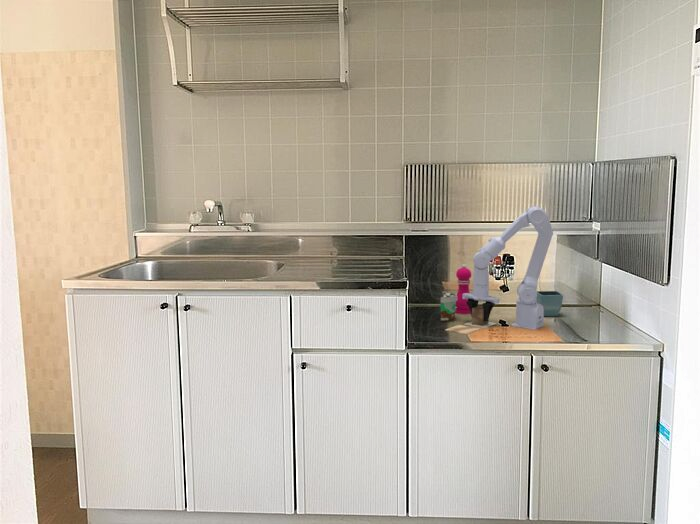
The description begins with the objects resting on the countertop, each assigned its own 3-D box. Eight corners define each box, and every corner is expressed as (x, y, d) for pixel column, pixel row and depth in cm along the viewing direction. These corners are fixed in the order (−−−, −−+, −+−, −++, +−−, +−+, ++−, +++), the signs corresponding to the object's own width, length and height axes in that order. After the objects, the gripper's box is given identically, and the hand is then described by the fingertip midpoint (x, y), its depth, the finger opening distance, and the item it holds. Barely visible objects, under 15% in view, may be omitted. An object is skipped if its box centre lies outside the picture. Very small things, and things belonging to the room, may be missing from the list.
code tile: (496, 323, 239) (496, 323, 239) (484, 328, 232) (484, 327, 232) (476, 320, 245) (476, 319, 245) (463, 324, 238) (463, 324, 238)
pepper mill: (451, 311, 260) (452, 263, 257) (468, 310, 262) (469, 262, 259) (457, 315, 253) (458, 265, 250) (475, 314, 255) (475, 265, 252)
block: (488, 323, 239) (488, 307, 238) (482, 325, 235) (482, 309, 235) (478, 321, 242) (478, 306, 241) (471, 323, 238) (472, 308, 238)
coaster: (480, 330, 230) (480, 328, 230) (466, 335, 224) (466, 333, 224) (458, 326, 236) (458, 324, 236) (445, 331, 230) (445, 329, 230)
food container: (456, 323, 240) (457, 297, 239) (440, 323, 241) (440, 297, 240) (458, 316, 252) (458, 291, 250) (442, 315, 253) (442, 291, 252)
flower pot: (534, 312, 256) (535, 290, 255) (556, 312, 256) (557, 290, 255) (540, 317, 248) (540, 295, 246) (562, 317, 247) (563, 295, 246)
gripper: (458, 283, 238) (457, 318, 240) (492, 288, 229) (491, 325, 231) (468, 280, 243) (467, 315, 245) (502, 285, 234) (501, 321, 236)
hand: (480, 319), depth 238 cm, fingers closed on block, 4 cm apart
